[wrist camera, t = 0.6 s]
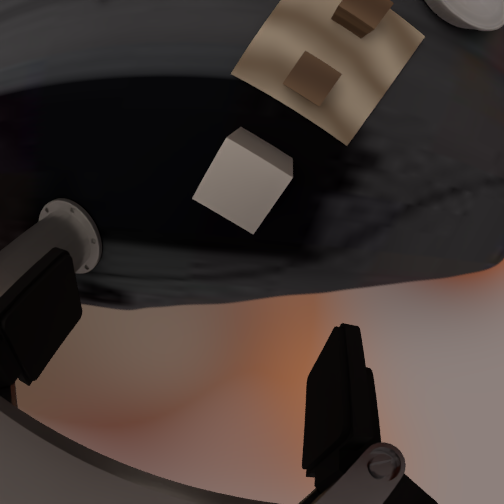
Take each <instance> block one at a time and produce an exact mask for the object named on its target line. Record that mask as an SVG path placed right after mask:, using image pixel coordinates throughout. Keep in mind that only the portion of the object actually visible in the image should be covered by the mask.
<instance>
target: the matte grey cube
mask: <svg viewBox="0 0 504 504" xmlns="http://www.w3.org/2000/svg"><path fill="white" fill-rule="evenodd" d="M292 178H293V158H291V157H290V156H288V155H287V154H285V153H284V152H282V151H280V150H279V149H277V148H276V147H274V146H272V145H271V144H269V143H267V142H266V141H264V140H262V139H261V138H259V137H257V136H256V135H254V134H252V133H251V132H249V131H247V130H246V129H244V128H242V127H240V128H239V129H237V130H236V131H235V132H233V133H232V134H231V135H229V136H228V137H227V138H226V139H225V141H224V143H223V144H222V146H221V148H220V150H219V151H218V153H217V155H216V157H215V158H214V160H213V162H212V164H211V165H210V167H209V169H208V171H207V172H206V174H205V176H204V178H203V180H202V181H201V183H200V185H199V187H198V189H197V191H196V192H195V194H194V196H193V198H192V199H194V200H196V201H197V202H199V203H201V204H202V205H204V206H206V207H208V208H209V209H211V210H213V211H214V212H216V213H218V214H220V215H221V216H223V217H225V218H226V219H228V220H230V221H231V222H233V223H235V224H237V225H238V226H240V227H242V228H243V229H245V230H247V231H248V232H250V233H252V234H254V233H255V231H256V230H257V228H258V227H259V226H260V224H261V223H262V221H263V220H264V218H265V217H266V215H267V214H268V213H269V211H270V210H271V208H272V207H273V205H274V204H275V203H276V201H277V200H278V198H279V197H280V195H281V194H282V193H283V191H284V190H285V188H286V187H287V185H288V184H289V183H290V181H291V180H292Z"/></svg>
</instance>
